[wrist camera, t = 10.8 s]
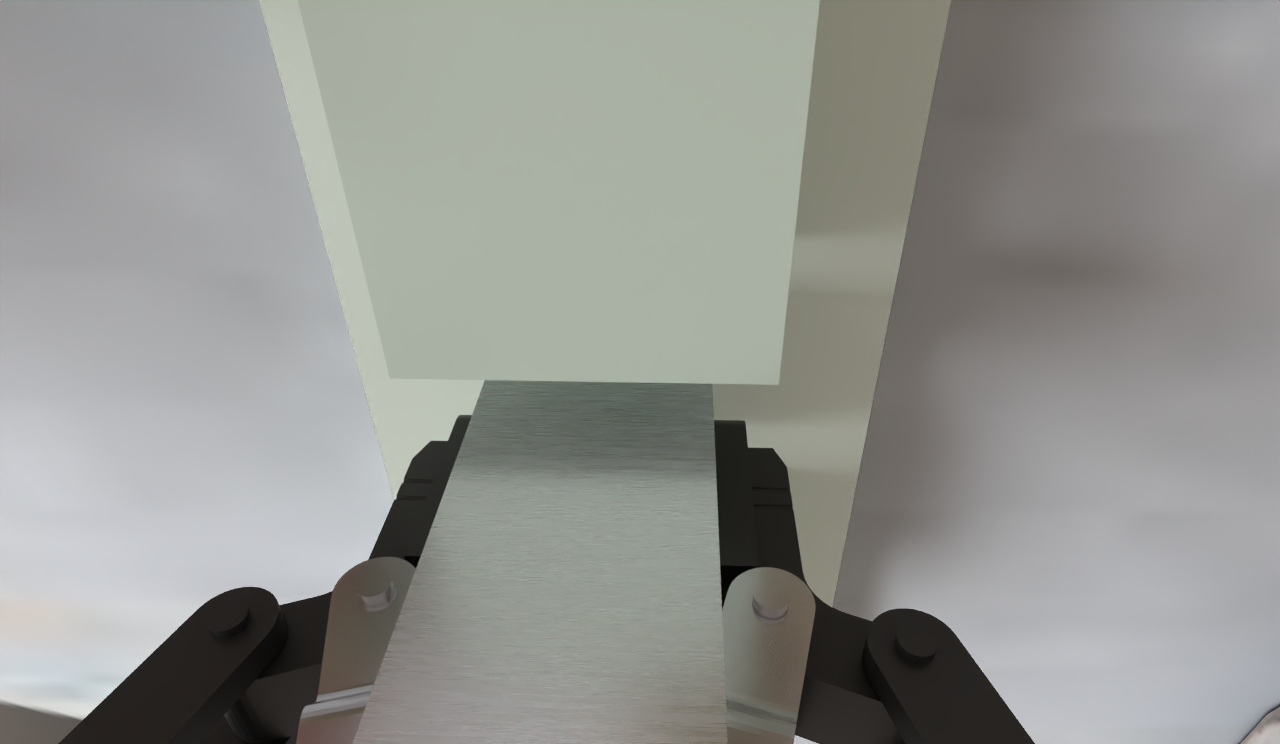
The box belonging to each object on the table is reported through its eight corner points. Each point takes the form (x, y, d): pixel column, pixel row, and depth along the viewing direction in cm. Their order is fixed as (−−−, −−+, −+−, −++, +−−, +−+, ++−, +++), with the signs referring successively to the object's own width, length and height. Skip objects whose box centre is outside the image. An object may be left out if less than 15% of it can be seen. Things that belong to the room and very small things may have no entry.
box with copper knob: (501, 333, 15) (281, 940, 7) (710, 335, 15) (737, 963, 7) (523, 485, 17) (377, 1075, 9) (704, 489, 17) (718, 1097, 9)
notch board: (462, 622, 28) (398, 850, 21) (295, -106, 15) (24, -58, 9) (804, 632, 27) (839, 871, 21) (931, -116, 14) (1112, -69, 8)
